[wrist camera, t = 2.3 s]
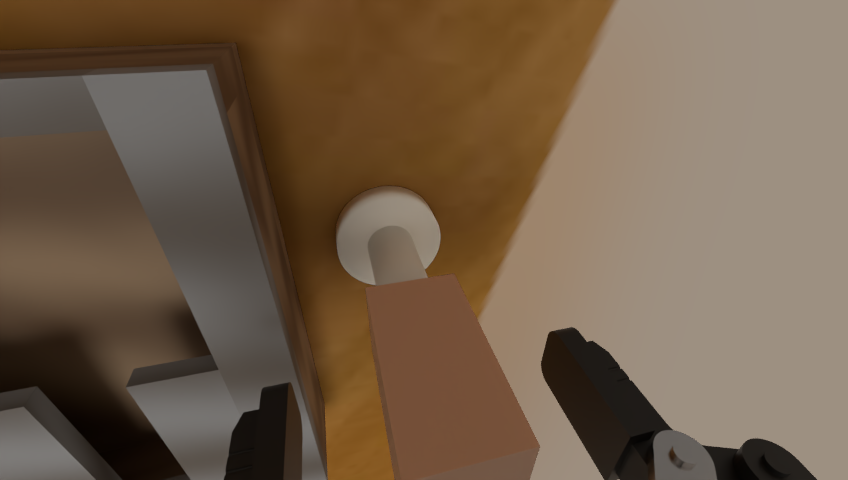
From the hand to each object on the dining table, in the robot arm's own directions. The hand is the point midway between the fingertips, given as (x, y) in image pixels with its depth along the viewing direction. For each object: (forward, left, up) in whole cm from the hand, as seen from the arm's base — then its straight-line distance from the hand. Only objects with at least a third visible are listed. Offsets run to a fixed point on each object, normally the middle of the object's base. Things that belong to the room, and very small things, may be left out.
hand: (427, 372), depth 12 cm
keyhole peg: (0, 0, -8) cm, 8 cm away
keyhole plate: (+2, -12, -8) cm, 14 cm away
